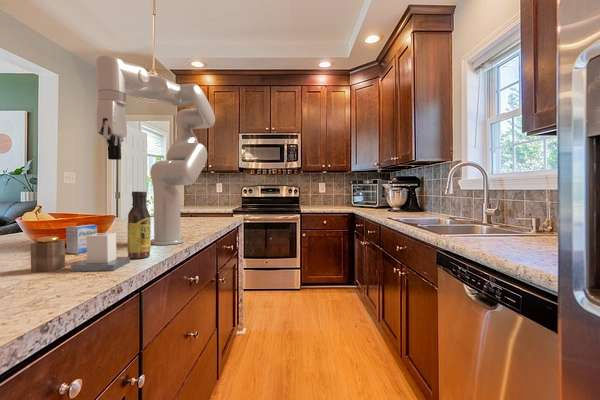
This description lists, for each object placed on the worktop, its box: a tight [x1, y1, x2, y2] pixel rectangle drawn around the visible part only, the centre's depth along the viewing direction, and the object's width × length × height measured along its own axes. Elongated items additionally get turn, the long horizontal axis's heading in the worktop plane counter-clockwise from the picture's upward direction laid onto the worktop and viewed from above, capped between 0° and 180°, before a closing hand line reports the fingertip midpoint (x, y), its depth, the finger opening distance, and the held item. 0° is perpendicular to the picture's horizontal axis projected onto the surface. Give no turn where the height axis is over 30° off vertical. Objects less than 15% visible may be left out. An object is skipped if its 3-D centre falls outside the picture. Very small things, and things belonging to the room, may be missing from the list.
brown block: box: [30, 239, 66, 273], centre depth 84 cm, size 5×5×7 cm
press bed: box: [70, 256, 131, 272], centre depth 87 cm, size 10×10×2 cm
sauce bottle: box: [127, 190, 152, 260], centre depth 99 cm, size 6×6×20 cm
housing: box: [86, 232, 117, 263], centre depth 87 cm, size 5×5×7 cm
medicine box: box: [65, 224, 98, 255], centre depth 108 cm, size 8×4×9 cm, turn 168°
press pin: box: [36, 236, 60, 243], centre depth 83 cm, size 4×4×6 cm
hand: (114, 159), depth 102 cm, fingers closed
